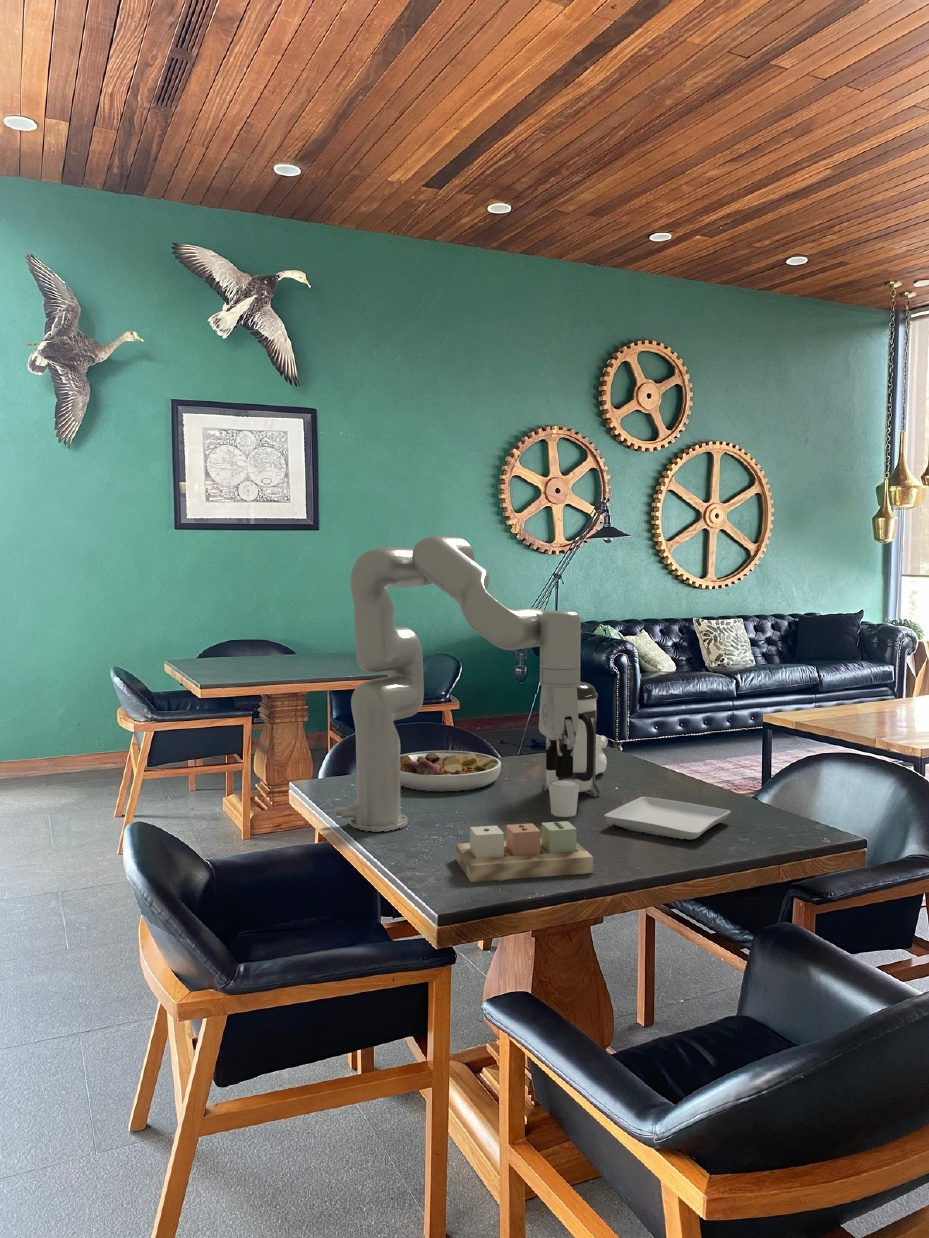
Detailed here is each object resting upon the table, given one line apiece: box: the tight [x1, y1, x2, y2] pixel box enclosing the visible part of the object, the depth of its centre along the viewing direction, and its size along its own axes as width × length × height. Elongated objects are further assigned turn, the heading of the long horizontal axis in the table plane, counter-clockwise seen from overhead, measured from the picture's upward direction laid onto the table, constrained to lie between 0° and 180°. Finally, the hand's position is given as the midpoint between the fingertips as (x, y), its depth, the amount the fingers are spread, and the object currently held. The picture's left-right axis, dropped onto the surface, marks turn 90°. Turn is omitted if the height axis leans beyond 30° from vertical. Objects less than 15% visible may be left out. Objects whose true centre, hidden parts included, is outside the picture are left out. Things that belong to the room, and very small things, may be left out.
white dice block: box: [469, 825, 505, 859], centre depth 173 cm, size 5×5×5 cm
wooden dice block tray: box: [455, 839, 594, 883], centre depth 175 cm, size 23×13×3 cm, turn 102°
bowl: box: [400, 750, 502, 792], centre depth 243 cm, size 30×30×8 cm
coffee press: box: [541, 681, 601, 798], centre depth 227 cm, size 17×16×30 cm
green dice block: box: [541, 820, 578, 854], centre depth 176 cm, size 5×5×5 cm
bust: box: [595, 734, 609, 776], centre depth 252 cm, size 12×8×11 cm
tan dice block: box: [505, 823, 542, 856], centre depth 175 cm, size 5×5×5 cm
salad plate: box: [603, 796, 731, 841], centre depth 201 cm, size 21×21×3 cm
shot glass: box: [548, 780, 579, 818], centre depth 211 cm, size 7×7×7 cm
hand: (559, 772), depth 175 cm, fingers open, 5 cm apart
